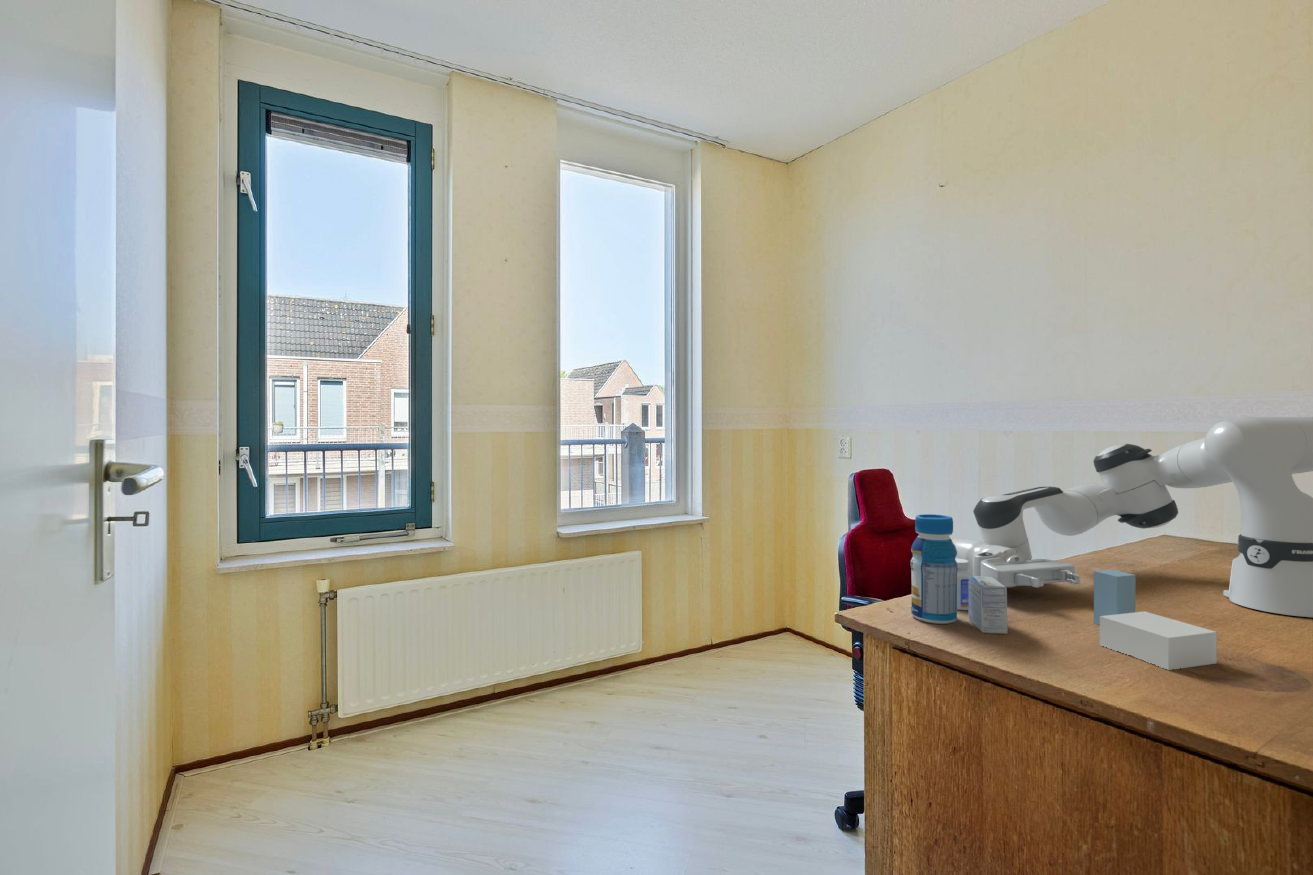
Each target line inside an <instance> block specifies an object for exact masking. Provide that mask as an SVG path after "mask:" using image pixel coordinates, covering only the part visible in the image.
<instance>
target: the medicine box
mask: <svg viewBox="0 0 1313 875" xmlns="http://www.w3.org/2000/svg"><path fill="white" fill-rule="evenodd" d="M1007 589H1008V588H1007V587H1005V586H1004V585H1002V584H1001V583H1000V582H998V581H997V580H995V579H994V578H992V577H983V576H972V577H969V581H968V592H969V608H968V609H969V610H968V620H969V621H970V622H971V623H972V624H973V625H974V626H975V627H976V628H977V629H978V630H979V631H980V632H981V633H983V634H996V635H997V634H998V635H1006V634H1008V590H1007Z"/></svg>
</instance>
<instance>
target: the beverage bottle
mask: <svg viewBox="0 0 1313 875" xmlns="http://www.w3.org/2000/svg"><path fill="white" fill-rule="evenodd" d="M914 524H915V525H914V528H915V533H917V534H918V535H917V536H916V538H915V539H914V541H913V542H912V545H911V549H910V551H911V554H912V557H911V559H910V568H911V570H910V572H911V579H910V580H911V607H910V608H911V609H910V612H911V613H910V614H911V615H912V617H913V618H914V619H916V620H919V621H921V622H924V623H929V624H936V625H937V624H938V625H947V624H952V623H955V622H956V621H957V619H958V611H957V571H958V564H957V562H956V560H955V557H956V556H957V550H956V547H955V545H954V543H953V541H952V540H953V539H951V537H950V536H953V533H954V520H953V517H951V516H950V515H949V516H948V515H943V514H934V513H933V514H926V513H925V514H918V515H916V516H915V520H914Z"/></svg>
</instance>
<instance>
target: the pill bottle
mask: <svg viewBox="0 0 1313 875" xmlns="http://www.w3.org/2000/svg"><path fill="white" fill-rule="evenodd" d="M955 560H956V562H957V564H958V571H957V610H958V611H969V609H968V608H969V592H968V581H969V577H972V576H973V575H972V573H971V572H970V571H968V568H969V561H967V560H964V559H957V558H955Z"/></svg>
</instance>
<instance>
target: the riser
mask: <svg viewBox="0 0 1313 875" xmlns="http://www.w3.org/2000/svg"><path fill="white" fill-rule="evenodd" d="M1217 637H1218V633H1217V631H1215V630H1212V629H1208V628H1204V627H1201V626H1197V625H1194V624H1190V623H1187V622H1184V621H1181V620H1177V619H1172V618H1170V617H1166V616H1162V615H1159V614H1156V613H1152V612H1148V611H1135V612H1134V613H1125V614H1116V615H1107V616H1100V625H1099V646H1101V647H1103V646H1104V647H1103V648H1106V647H1107V648H1106V649H1109V650H1111V649H1112V651H1113V652H1117V651H1119V652H1121V653H1120V654H1122V653H1124V654H1123V655H1125V654H1127V655H1126V656H1128V655H1132V656H1134V657H1136V658H1138V659H1137V660H1139V659H1142V660H1144V661H1146V662H1145V663H1147V662H1148V663H1147V664H1150V663H1152V664H1155V665H1156V667H1158V666H1159V667H1158V668H1161V669H1163V668H1164V669H1163V670H1166V669H1167V670H1166V671H1172V670H1173V669H1174V670H1179V669H1180V668H1181V669H1187V668H1193V667H1201V666H1207V665H1214V664H1217V643H1218V642H1217V640H1218V639H1217ZM1119 652H1118V653H1119ZM1136 658H1135V659H1136ZM1144 661H1143V662H1144ZM1152 664H1151V665H1152ZM1155 665H1154V666H1155ZM1181 669H1180V670H1181Z"/></svg>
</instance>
